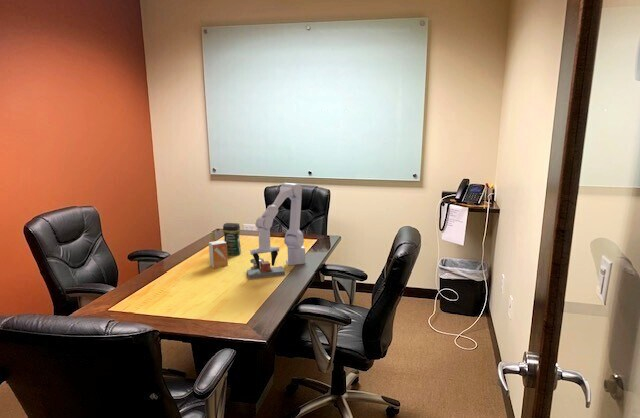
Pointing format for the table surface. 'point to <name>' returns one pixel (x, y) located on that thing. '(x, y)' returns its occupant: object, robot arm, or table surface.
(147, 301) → the table surface
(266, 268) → the block
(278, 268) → the notched board
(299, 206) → the robot arm
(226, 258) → the small box
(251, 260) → the bobbin
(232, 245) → the coffee jar
